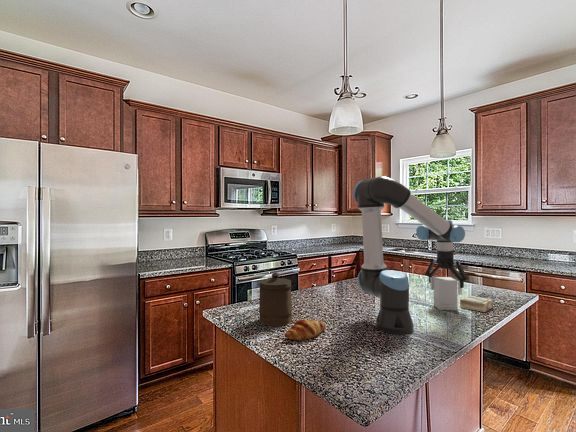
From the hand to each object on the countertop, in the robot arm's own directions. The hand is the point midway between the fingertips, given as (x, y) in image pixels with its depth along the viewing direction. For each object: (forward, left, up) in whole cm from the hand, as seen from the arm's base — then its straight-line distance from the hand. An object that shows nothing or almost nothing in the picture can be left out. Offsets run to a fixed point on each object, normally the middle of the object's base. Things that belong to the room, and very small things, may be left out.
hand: (445, 291), depth 159 cm
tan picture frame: (+12, -10, -8) cm, 17 cm away
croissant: (-77, +21, -9) cm, 81 cm away
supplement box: (0, 0, -8) cm, 8 cm away
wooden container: (-76, +43, -8) cm, 88 cm away
